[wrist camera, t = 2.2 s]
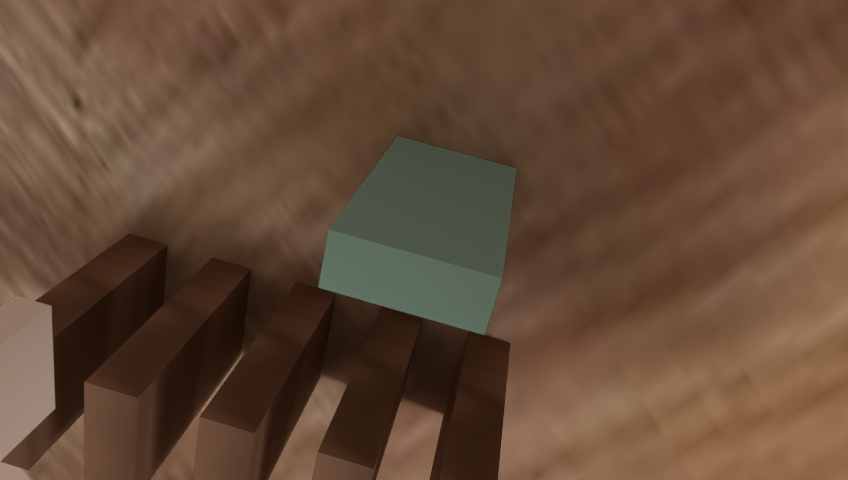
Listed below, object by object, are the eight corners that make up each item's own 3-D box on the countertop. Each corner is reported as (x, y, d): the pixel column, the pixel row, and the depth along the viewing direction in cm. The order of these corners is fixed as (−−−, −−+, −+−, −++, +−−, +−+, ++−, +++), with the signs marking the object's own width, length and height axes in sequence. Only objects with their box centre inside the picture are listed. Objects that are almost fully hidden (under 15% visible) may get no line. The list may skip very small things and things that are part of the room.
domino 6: (443, 414, 34) (406, 587, 25) (468, 331, 32) (438, 488, 23) (481, 425, 34) (458, 603, 25) (510, 343, 32) (495, 505, 23)
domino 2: (203, 344, 35) (84, 487, 26) (211, 257, 32) (84, 382, 23) (240, 355, 35) (133, 502, 26) (251, 269, 32) (137, 397, 23)
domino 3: (282, 367, 34) (189, 520, 25) (296, 282, 32) (199, 416, 23) (319, 378, 34) (239, 535, 25) (336, 293, 32) (254, 433, 23)
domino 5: (362, 390, 34) (296, 553, 25) (382, 306, 32) (317, 451, 23) (400, 401, 34) (347, 568, 25) (422, 318, 32) (373, 468, 23)
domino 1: (125, 321, 35) (-20, 455, 26) (128, 234, 33) (-31, 347, 24) (161, 332, 35) (28, 470, 26) (167, 245, 33) (22, 363, 24)
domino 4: (397, 135, 28) (328, 229, 19) (516, 168, 28) (502, 278, 19) (388, 178, 29) (318, 287, 20) (503, 210, 29) (484, 335, 20)
